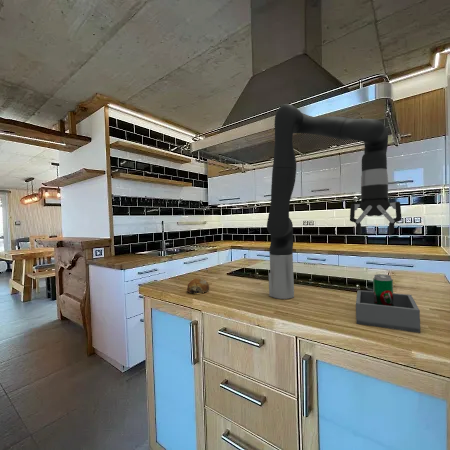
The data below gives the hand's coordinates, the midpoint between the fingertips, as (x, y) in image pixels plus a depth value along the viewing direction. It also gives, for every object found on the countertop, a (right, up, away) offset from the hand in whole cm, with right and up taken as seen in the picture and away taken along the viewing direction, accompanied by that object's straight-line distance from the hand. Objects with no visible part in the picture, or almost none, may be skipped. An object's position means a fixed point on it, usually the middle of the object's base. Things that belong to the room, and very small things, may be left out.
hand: (374, 234), depth 83 cm
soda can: (0, -24, -5) cm, 25 cm away
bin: (0, -25, -5) cm, 26 cm away
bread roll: (-61, -27, +34) cm, 74 cm away
